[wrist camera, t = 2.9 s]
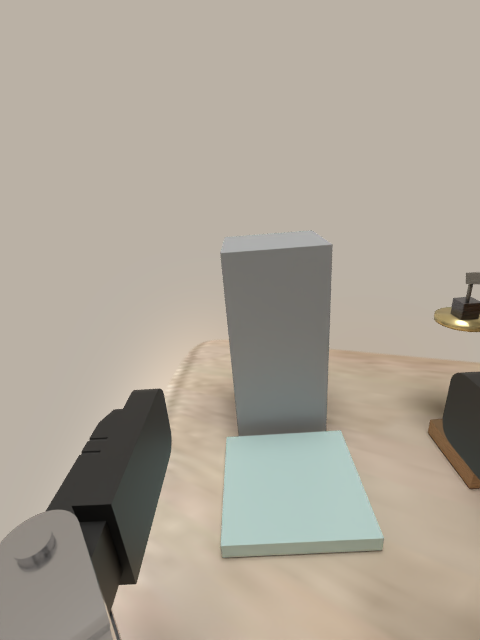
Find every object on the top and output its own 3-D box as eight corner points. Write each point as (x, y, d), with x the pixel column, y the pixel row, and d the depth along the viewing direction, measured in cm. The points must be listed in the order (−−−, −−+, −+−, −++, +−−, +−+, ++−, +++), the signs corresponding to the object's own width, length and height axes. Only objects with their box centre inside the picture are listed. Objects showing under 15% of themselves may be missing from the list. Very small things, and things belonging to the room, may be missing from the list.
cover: (310, 387, 25) (312, 230, 21) (325, 432, 21) (332, 244, 16) (239, 391, 26) (224, 237, 21) (239, 437, 21) (220, 253, 16)
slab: (340, 440, 20) (340, 430, 20) (382, 550, 14) (383, 538, 14) (227, 447, 20) (226, 437, 20) (222, 557, 14) (220, 546, 14)
